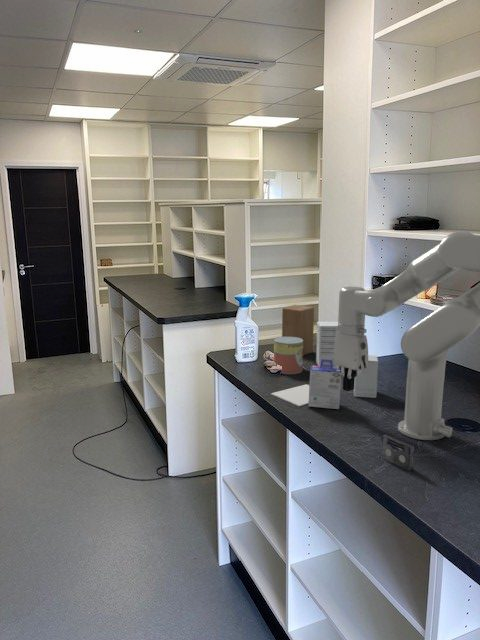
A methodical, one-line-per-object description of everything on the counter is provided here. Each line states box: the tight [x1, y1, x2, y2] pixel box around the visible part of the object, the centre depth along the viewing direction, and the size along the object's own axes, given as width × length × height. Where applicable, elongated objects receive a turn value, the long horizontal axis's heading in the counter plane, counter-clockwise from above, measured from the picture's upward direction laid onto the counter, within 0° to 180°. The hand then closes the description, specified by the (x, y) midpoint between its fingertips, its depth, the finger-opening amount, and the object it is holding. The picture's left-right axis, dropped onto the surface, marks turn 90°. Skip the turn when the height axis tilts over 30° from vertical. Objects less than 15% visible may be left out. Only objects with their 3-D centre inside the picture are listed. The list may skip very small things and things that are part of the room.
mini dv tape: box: [380, 434, 415, 472], centre depth 125 cm, size 8×2×6 cm, turn 35°
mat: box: [270, 384, 309, 408], centre depth 172 cm, size 14×16×1 cm
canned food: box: [273, 336, 304, 375], centre depth 200 cm, size 11×11×12 cm
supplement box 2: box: [353, 354, 379, 399], centre depth 173 cm, size 7×7×13 cm
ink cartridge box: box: [307, 359, 343, 410], centre depth 161 cm, size 10×6×14 cm, turn 80°
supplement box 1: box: [315, 321, 338, 367], centre depth 206 cm, size 10×9×17 cm
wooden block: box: [281, 304, 315, 356], centre depth 224 cm, size 10×10×20 cm
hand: (348, 389), depth 154 cm, fingers closed
